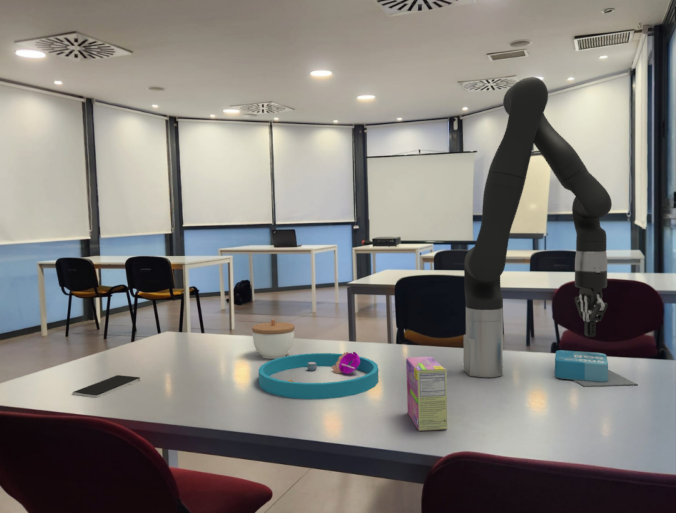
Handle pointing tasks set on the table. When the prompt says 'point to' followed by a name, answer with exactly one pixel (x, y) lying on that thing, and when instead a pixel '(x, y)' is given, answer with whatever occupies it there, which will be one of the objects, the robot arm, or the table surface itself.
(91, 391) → the smartphone
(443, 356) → the table surface
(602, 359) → the teal rounded block
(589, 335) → the robot arm
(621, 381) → the slate mat
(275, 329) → the lidded bowl
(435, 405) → the box
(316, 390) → the teal ring
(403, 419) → the table surface
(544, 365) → the table surface
